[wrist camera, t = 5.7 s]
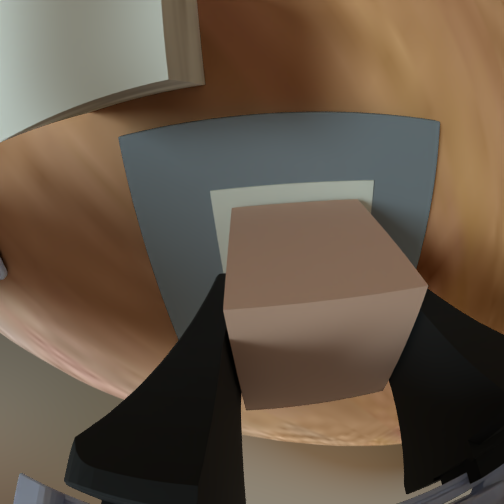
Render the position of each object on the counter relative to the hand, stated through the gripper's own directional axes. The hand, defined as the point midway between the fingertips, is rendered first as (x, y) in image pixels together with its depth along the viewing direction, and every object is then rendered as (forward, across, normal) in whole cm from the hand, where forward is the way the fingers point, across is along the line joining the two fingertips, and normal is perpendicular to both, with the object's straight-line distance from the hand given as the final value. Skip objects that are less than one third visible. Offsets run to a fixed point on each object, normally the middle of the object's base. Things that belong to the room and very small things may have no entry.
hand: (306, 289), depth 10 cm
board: (+3, 0, 0) cm, 3 cm away
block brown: (+2, 0, 0) cm, 2 cm away
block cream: (+3, +5, -9) cm, 11 cm away
